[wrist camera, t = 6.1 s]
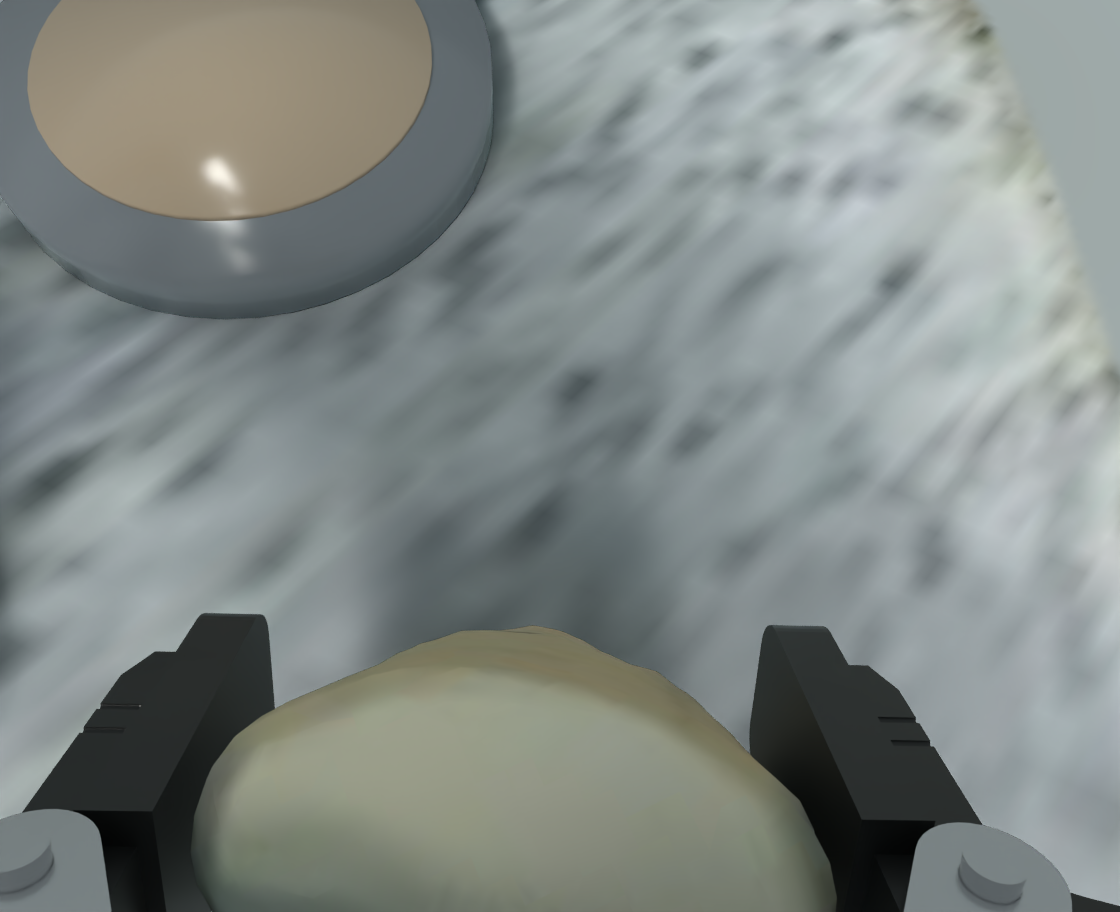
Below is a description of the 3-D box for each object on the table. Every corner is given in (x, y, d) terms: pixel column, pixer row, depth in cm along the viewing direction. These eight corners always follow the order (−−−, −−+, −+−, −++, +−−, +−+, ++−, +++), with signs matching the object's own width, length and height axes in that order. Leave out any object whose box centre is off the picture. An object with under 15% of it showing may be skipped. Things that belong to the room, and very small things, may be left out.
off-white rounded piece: (405, 1088, 14) (290, 1328, 7) (296, 755, 16) (112, 656, 8) (738, 910, 15) (952, 949, 8) (601, 621, 17) (669, 431, 10)
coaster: (-24, 344, 19) (-72, 297, 17) (22, -38, 23) (-12, -102, 21) (521, 292, 20) (522, 244, 18) (467, -62, 24) (464, -124, 23)
